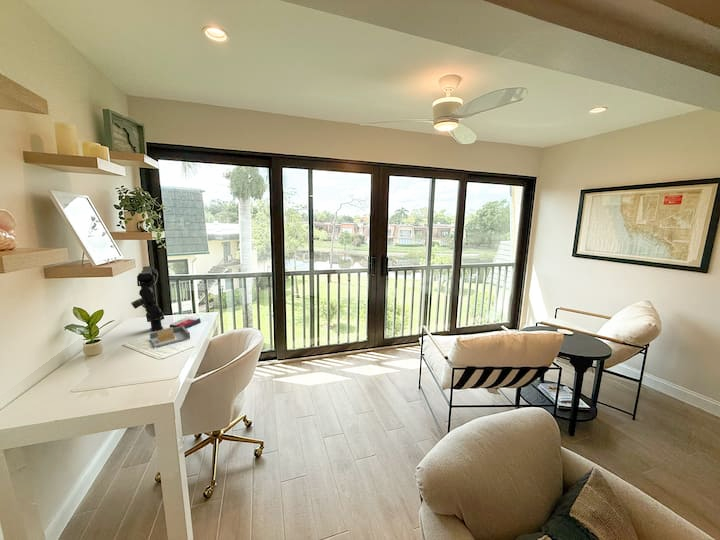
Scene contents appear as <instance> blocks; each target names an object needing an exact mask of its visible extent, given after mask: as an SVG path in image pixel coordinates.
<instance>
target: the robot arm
mask: <svg viewBox="0 0 720 540" xmlns="http://www.w3.org/2000/svg"><path fill="white" fill-rule="evenodd" d="M136 278H137V279H136V280H137V281H136V283H137V287H140V290H139V292H138V294H139V296H140V297H141V298H140V297H139V298H138V299H136V300H134V301H132V302H131V303H130V304H131V305H132V307H133V308H134V310H135V309H138V308H140V307H142V308H144V310H145V312H146V314H145V316H146V322H147V323H150V328H149V329H150V331H151V332H157V331H158V330H162V329H164V327H163V325H162V321H163V320H165V313H164V312H163V311H162V310H161V308H160V307H159V304H158V301H157V300H158V299H157V290H156V284H157V282H158V278H159V272H158V270H157V269H156V268H154V267H153V266H152V265H149V266H148V265H147V266H143V267H142V270H141V272H139V273H137V276H136Z"/></svg>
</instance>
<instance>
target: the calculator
mask: <svg viewBox="0 0 720 540" xmlns="http://www.w3.org/2000/svg"><path fill="white" fill-rule="evenodd" d="M201 323H202V322H201V318H200V317H194V316H193V317H192V316H186V317H184V318H181V319H180V320H177V321H175V322H172V323H170V325H169V328H171V327H173V328H175V327H180V326H184V327H185V328H186V329H187V330H188V329H190V328H192V327H194V326H196V325H199V324H201Z"/></svg>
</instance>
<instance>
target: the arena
mask: <svg viewBox="0 0 720 540" xmlns="http://www.w3.org/2000/svg"><path fill="white" fill-rule="evenodd" d="M173 333H174V336H175V339H173V340H169V341H165V342H161V343H159V341H158V337H157V331H153V332H150V333H149V339H151V340H150V341H152V342H151V344H152V343H153V344H152V346H153V347H154V348H155V347H157V348H161V347H164V345H165V346H168V345H171V344H176V343H180V342H182V341H187V340H190V339H191V334H190V333H191V332H190V331H188V328H187V329H186V328H185V327H184V326H180V327H175V328H173ZM160 346H161V347H160Z"/></svg>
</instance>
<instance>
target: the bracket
mask: <svg viewBox="0 0 720 540" xmlns="http://www.w3.org/2000/svg"><path fill="white" fill-rule="evenodd" d="M156 332H157V337H158V341H159V343H161V342H165V341H169V340H173V339H175V336H174V333H173V327H171V328H170V327H168V328H163V329H160V330H156Z"/></svg>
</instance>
